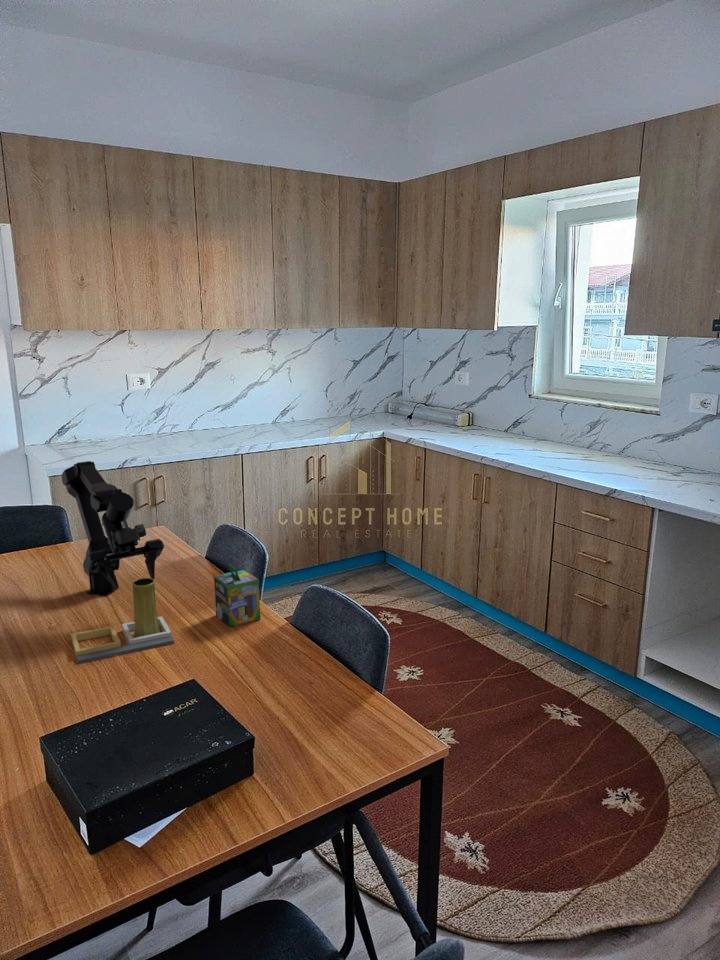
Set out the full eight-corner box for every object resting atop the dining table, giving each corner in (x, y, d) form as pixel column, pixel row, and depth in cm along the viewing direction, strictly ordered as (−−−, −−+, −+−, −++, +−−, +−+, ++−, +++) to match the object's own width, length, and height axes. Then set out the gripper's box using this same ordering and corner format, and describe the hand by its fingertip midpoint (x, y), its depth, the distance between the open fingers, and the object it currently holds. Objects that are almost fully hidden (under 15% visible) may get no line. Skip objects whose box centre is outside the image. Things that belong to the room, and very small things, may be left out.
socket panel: (77, 663, 157) (77, 656, 157) (71, 640, 168) (70, 633, 167) (174, 643, 167) (173, 636, 167) (162, 622, 178) (162, 616, 177)
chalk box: (261, 620, 180) (260, 567, 177) (228, 628, 175) (226, 574, 172) (246, 607, 188) (244, 556, 184) (214, 615, 183) (212, 563, 179)
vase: (164, 631, 173) (161, 578, 170) (149, 642, 167) (146, 588, 164) (144, 627, 175) (140, 575, 172) (128, 638, 169) (125, 584, 166)
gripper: (85, 521, 167) (104, 577, 161) (159, 509, 178) (178, 561, 172) (78, 543, 175) (96, 597, 169) (149, 530, 186) (168, 580, 180)
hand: (135, 583), depth 173 cm, fingers open, 9 cm apart
